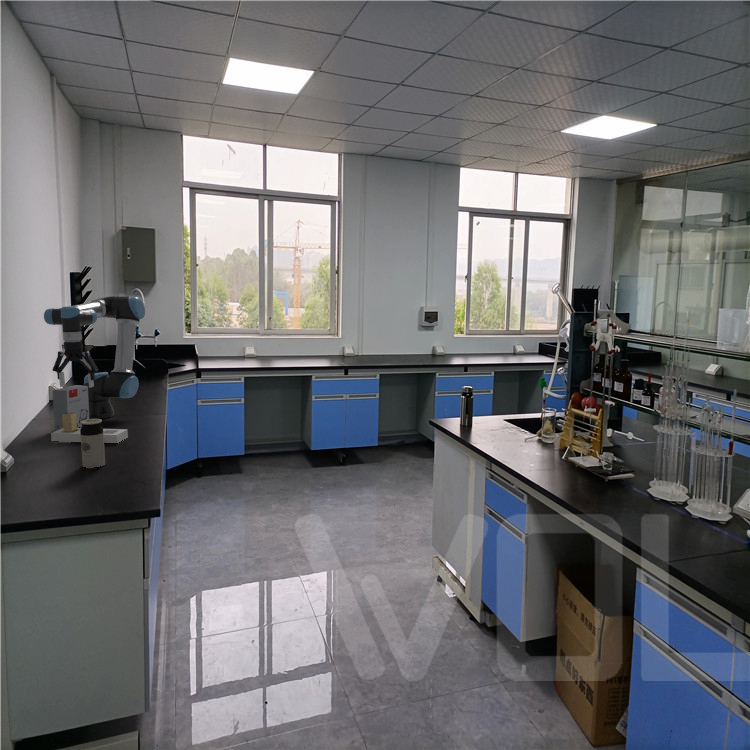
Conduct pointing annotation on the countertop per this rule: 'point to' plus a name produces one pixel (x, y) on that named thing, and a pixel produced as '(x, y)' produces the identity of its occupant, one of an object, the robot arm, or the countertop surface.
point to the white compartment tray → (62, 436)
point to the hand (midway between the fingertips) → (77, 386)
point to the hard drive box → (70, 404)
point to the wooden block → (69, 422)
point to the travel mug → (92, 443)
